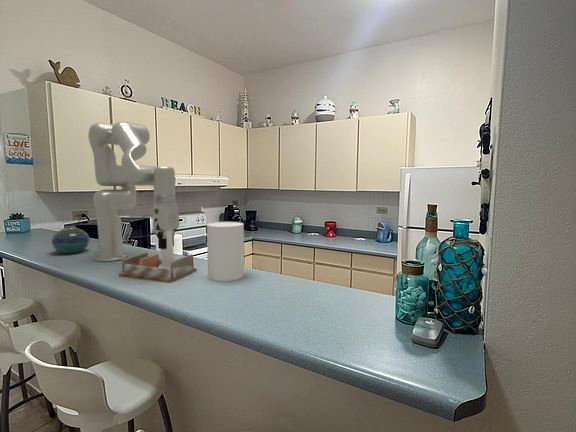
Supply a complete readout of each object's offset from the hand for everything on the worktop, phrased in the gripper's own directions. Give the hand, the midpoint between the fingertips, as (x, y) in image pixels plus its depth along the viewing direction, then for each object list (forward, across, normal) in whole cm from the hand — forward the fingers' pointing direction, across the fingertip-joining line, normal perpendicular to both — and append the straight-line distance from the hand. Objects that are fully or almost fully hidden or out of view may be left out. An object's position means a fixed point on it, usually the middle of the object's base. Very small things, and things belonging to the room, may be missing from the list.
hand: (166, 247), depth 121 cm
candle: (+8, +1, 0) cm, 8 cm away
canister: (+11, +6, -22) cm, 25 cm away
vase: (+11, +15, +68) cm, 70 cm away
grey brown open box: (+11, 0, +4) cm, 11 cm away
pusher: (+9, 0, +8) cm, 12 cm away
